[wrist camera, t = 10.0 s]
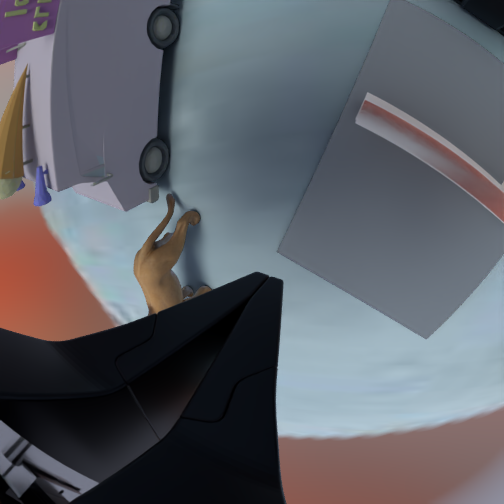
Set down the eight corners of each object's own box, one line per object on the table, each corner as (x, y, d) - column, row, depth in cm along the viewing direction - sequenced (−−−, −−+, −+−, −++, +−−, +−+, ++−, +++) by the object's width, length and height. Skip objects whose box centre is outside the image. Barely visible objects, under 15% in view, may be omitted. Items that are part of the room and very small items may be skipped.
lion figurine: (234, 325, 29) (187, 388, 22) (194, 318, 31) (146, 372, 24) (194, 188, 23) (112, 233, 16) (152, 195, 25) (76, 235, 18)
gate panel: (497, 188, 12) (524, 211, 8) (488, 204, 13) (512, 231, 9) (368, 102, 14) (365, 98, 10) (360, 120, 14) (354, 122, 11)
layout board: (392, -4, 9) (392, -6, 9) (565, 131, 7) (568, 132, 7) (277, 250, 22) (276, 252, 22) (426, 337, 20) (426, 339, 19)
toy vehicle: (113, 176, 26) (-9, 239, 15) (122, 0, 16) (-20, 3, 4) (178, 194, 24) (30, 286, 12) (199, -21, 13) (24, -60, 1)
